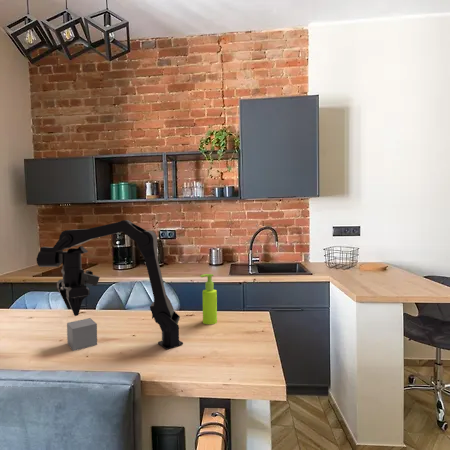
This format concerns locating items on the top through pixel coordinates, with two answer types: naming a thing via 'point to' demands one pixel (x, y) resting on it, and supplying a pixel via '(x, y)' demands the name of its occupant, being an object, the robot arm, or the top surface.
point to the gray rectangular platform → (81, 334)
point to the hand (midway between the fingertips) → (72, 312)
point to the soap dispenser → (209, 302)
